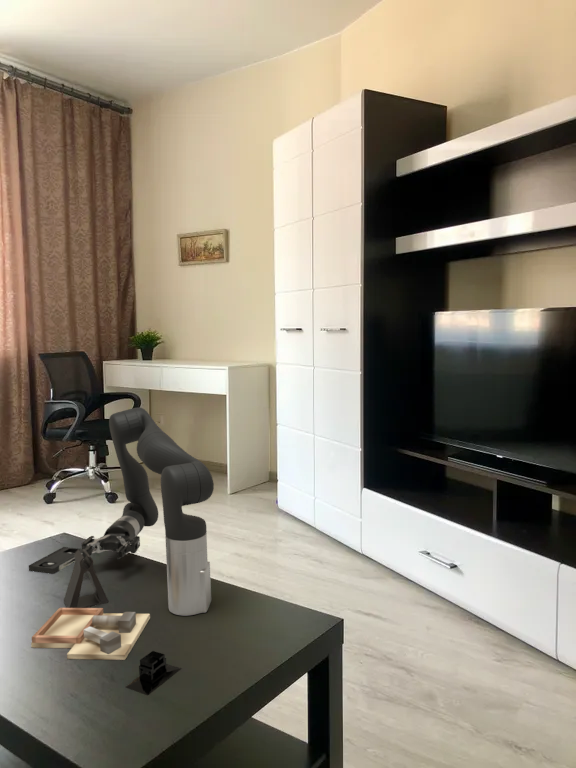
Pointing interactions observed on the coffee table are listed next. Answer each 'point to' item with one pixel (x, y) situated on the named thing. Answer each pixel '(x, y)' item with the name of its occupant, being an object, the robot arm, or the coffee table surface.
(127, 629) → the stand
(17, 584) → the coffee table surface
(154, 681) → the black slotted box
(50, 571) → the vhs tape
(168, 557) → the robot arm
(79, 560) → the phone stand
